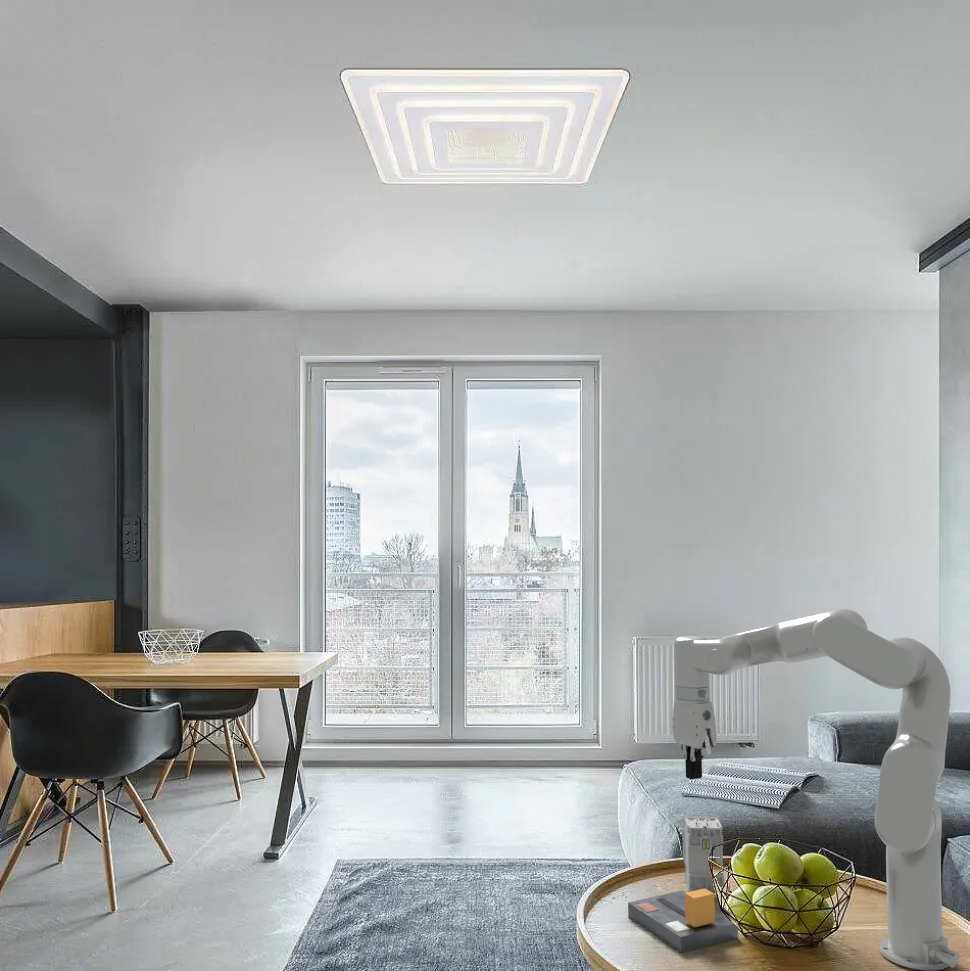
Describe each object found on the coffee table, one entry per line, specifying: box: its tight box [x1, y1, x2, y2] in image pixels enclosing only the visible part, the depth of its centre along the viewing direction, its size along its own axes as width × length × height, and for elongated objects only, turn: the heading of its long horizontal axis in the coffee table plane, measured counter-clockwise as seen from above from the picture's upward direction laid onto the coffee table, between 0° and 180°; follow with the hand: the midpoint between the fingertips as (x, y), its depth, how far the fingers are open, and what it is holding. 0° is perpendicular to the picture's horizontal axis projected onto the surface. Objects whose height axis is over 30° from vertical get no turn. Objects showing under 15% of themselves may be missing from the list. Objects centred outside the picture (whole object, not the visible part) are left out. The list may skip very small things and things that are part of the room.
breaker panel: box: [627, 890, 739, 954], centre depth 190 cm, size 18×14×3 cm
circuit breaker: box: [681, 815, 725, 896], centre depth 213 cm, size 8×14×15 cm, turn 174°
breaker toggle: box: [685, 888, 716, 927], centre depth 185 cm, size 3×5×6 cm, turn 115°
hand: (693, 777), depth 203 cm, fingers closed
